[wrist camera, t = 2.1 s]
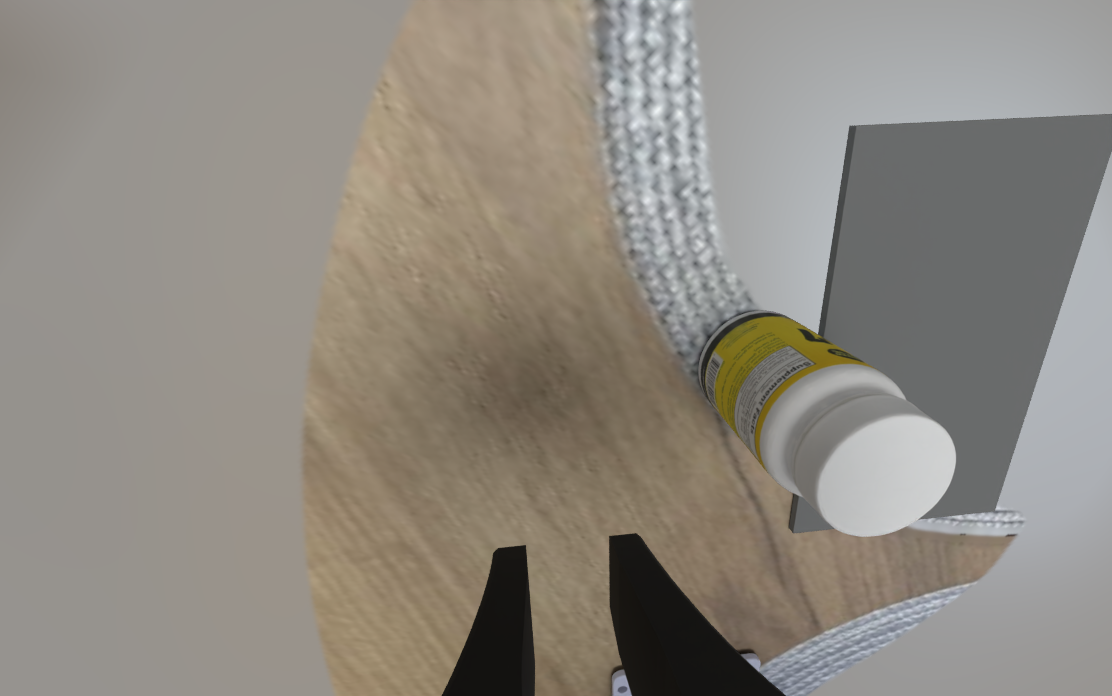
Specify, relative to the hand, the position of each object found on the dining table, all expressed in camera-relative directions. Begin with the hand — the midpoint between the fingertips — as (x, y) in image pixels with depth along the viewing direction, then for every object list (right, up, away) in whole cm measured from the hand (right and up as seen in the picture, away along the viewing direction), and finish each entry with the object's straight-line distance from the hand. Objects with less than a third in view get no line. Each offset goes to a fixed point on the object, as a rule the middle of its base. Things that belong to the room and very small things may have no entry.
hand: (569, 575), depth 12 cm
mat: (+16, +5, +11) cm, 20 cm away
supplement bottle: (+8, +5, +11) cm, 14 cm away
